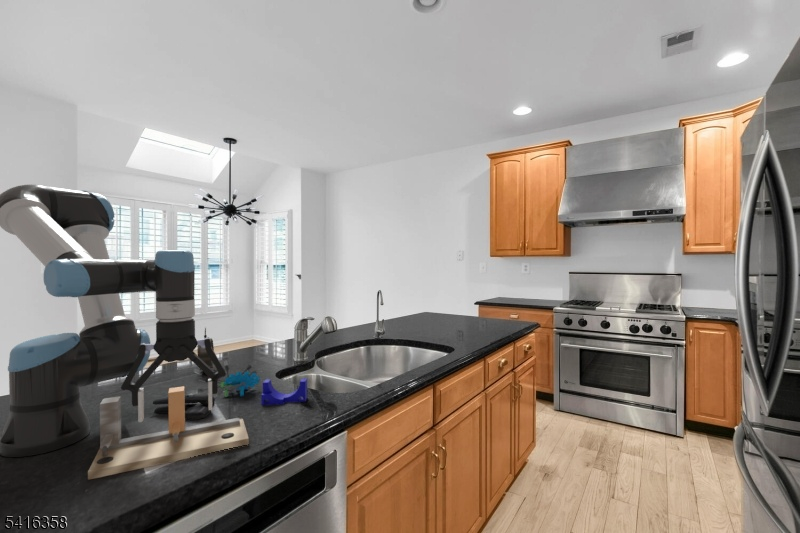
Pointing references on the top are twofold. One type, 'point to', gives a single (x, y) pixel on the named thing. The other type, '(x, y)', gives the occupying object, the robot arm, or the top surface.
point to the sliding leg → (176, 411)
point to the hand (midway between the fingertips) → (177, 413)
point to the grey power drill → (205, 353)
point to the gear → (239, 382)
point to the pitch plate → (157, 442)
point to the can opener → (189, 406)
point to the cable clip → (275, 397)
